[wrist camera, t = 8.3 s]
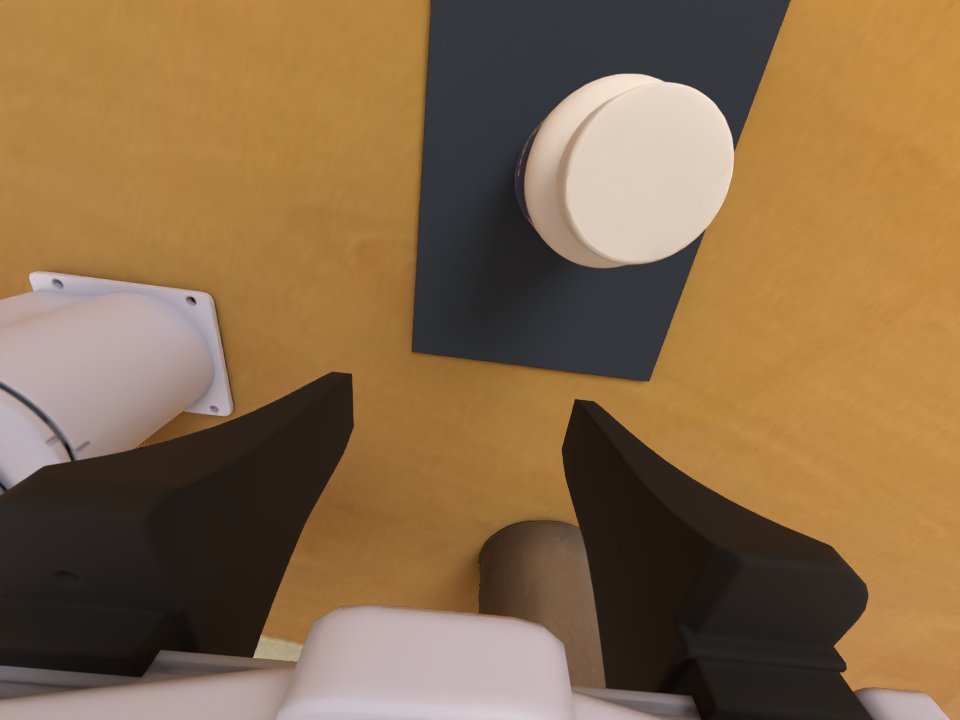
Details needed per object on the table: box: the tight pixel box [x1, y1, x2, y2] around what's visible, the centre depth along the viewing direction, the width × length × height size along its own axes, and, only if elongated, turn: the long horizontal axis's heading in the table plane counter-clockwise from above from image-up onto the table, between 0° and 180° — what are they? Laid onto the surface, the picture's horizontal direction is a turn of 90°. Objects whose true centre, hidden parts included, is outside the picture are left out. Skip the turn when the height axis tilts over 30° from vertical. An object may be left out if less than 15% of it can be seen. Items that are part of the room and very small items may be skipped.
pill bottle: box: [515, 74, 734, 268], centre depth 13 cm, size 5×5×10 cm
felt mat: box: [412, 0, 790, 381], centre depth 18 cm, size 14×20×1 cm
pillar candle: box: [478, 521, 606, 689], centre depth 23 cm, size 10×10×15 cm
